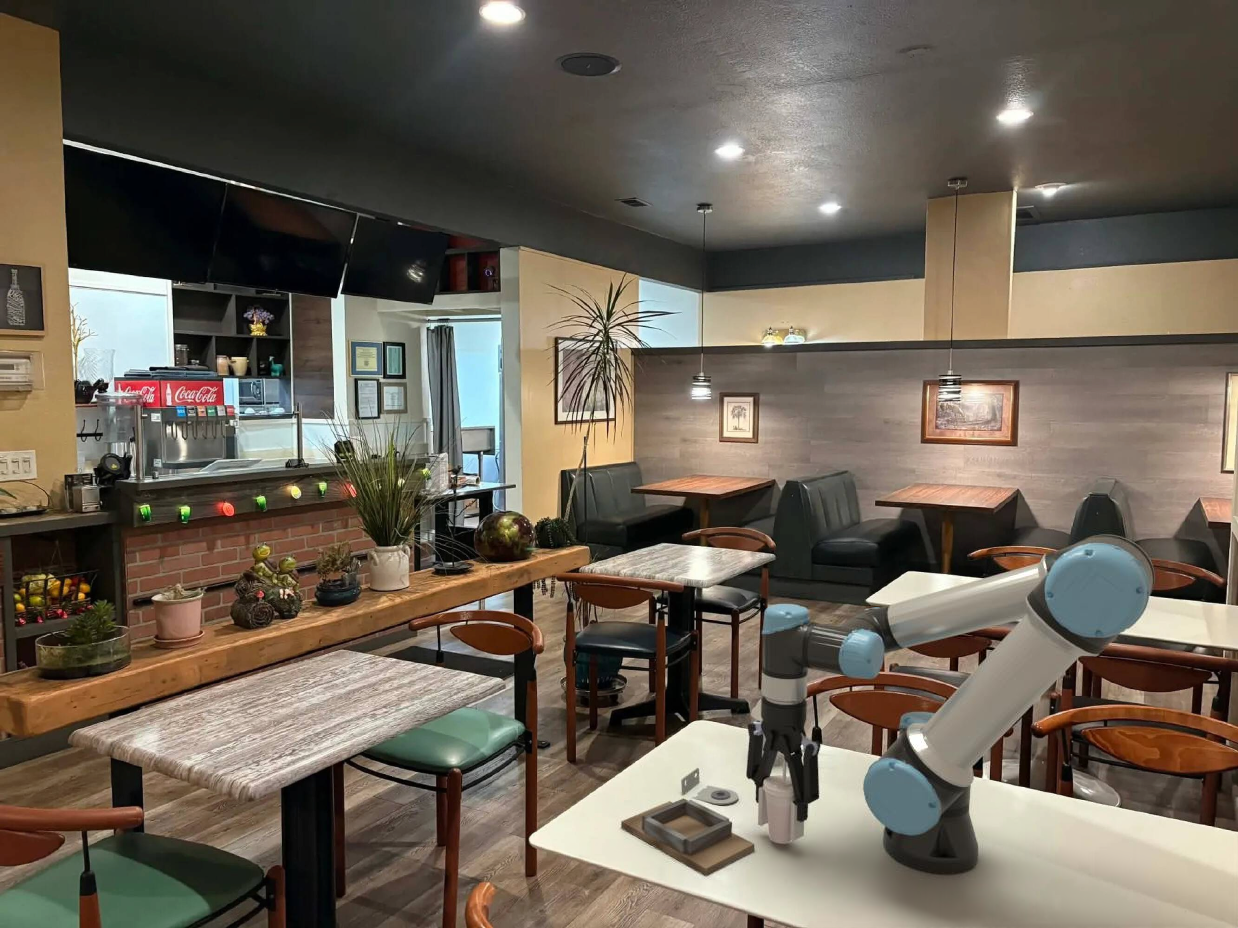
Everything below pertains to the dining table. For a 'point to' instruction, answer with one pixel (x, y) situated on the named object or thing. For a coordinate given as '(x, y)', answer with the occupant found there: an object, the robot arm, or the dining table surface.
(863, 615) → the robot arm
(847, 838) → the dining table surface
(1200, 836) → the dining table surface
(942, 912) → the dining table surface
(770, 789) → the smoothie
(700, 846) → the keeper board
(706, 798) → the grey arched plates
